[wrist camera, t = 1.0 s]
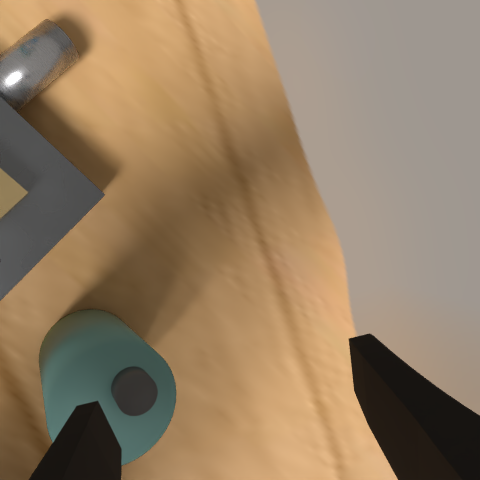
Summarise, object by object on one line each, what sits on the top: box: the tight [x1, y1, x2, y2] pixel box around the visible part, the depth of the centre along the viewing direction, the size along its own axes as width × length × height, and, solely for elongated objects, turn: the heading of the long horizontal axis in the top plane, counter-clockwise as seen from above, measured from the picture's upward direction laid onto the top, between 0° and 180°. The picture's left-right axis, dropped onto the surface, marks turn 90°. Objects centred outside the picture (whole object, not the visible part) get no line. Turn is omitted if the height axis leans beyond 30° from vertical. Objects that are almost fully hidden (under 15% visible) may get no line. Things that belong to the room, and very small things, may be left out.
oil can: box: [39, 309, 176, 466], centre depth 18 cm, size 4×4×8 cm
